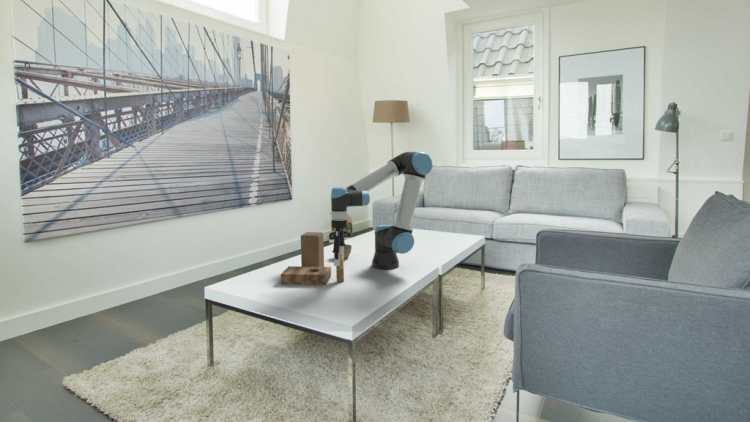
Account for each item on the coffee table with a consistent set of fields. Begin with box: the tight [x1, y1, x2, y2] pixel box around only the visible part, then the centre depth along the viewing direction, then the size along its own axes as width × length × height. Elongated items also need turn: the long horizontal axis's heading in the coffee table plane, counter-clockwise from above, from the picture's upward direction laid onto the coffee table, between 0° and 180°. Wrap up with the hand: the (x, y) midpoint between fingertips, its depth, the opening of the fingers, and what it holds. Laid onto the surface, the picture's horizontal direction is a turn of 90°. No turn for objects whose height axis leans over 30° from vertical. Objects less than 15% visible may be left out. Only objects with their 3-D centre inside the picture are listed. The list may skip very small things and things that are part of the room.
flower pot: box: [336, 243, 353, 260], centre depth 259 cm, size 10×10×7 cm
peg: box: [335, 253, 345, 283], centre depth 213 cm, size 4×4×14 cm
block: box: [300, 231, 325, 267], centre depth 233 cm, size 10×10×20 cm
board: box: [280, 265, 332, 286], centre depth 216 cm, size 22×14×5 cm, turn 86°
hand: (339, 262), depth 212 cm, fingers open, 13 cm apart
